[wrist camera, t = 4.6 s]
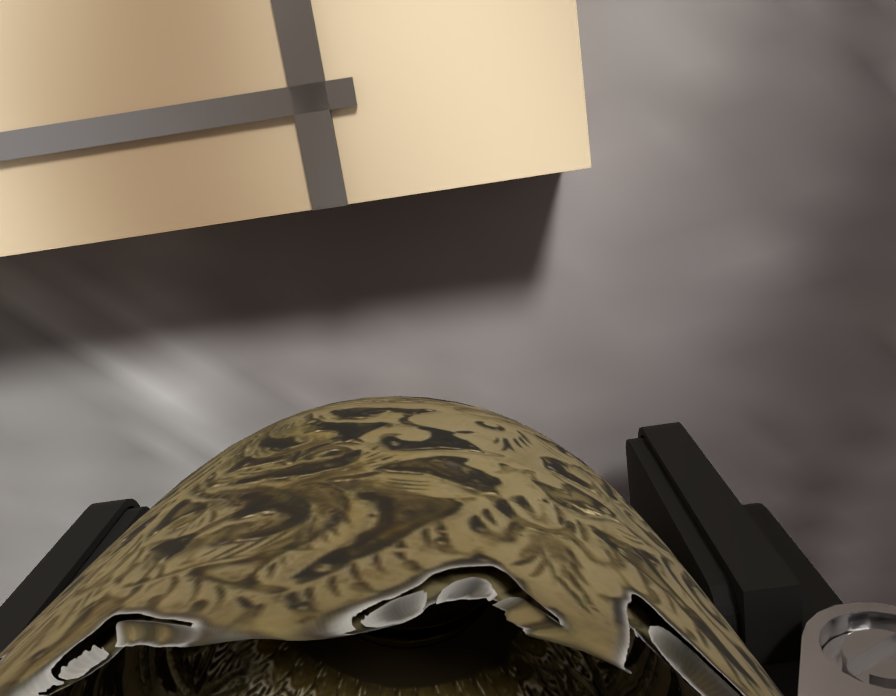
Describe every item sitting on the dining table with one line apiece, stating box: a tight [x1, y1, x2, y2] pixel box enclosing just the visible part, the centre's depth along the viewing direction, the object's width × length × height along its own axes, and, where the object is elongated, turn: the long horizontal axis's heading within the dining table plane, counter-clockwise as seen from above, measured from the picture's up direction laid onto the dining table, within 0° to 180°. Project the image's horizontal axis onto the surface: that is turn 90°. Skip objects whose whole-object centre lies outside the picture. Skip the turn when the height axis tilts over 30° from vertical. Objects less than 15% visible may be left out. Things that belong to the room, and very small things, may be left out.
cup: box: [0, 396, 784, 696], centre depth 9 cm, size 8×7×8 cm
